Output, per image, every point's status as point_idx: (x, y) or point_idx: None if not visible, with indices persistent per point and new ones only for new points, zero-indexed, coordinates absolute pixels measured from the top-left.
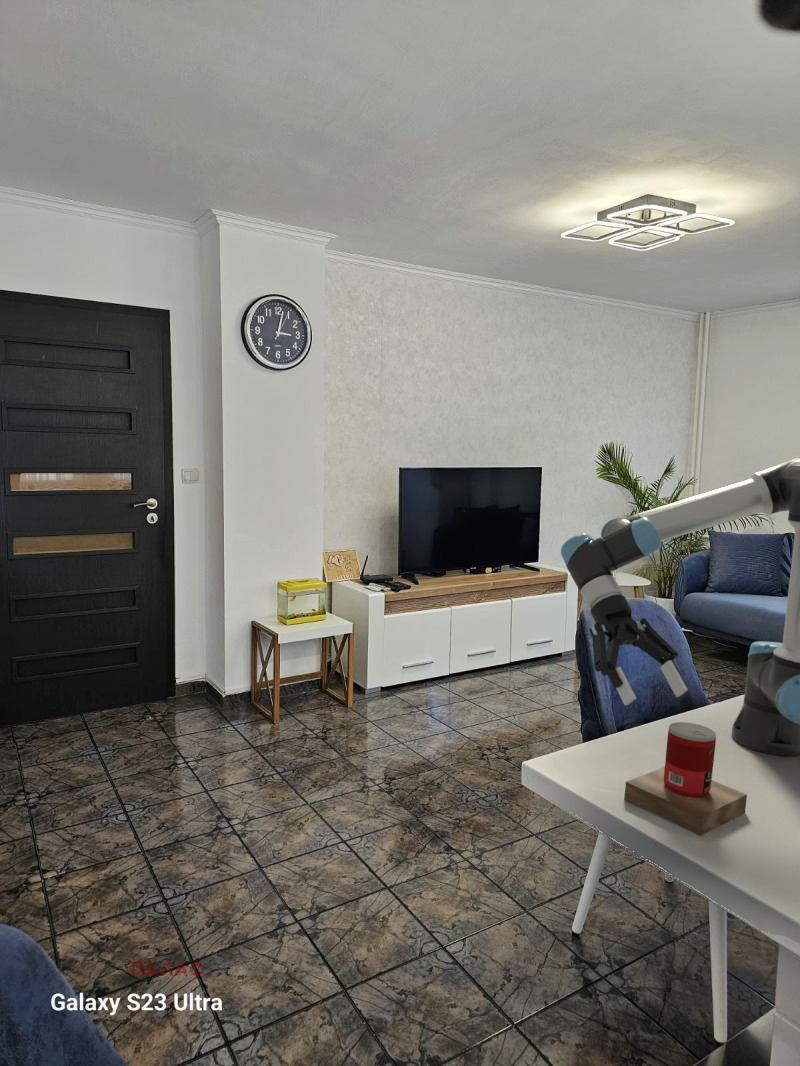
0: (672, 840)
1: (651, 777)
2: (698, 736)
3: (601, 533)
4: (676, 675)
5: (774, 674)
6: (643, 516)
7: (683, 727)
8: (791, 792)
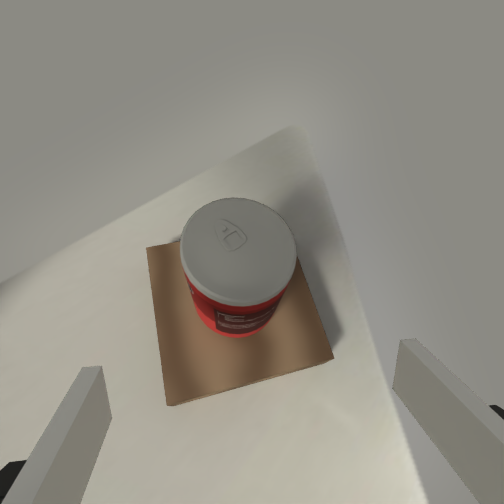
0: (325, 241)
1: (267, 359)
2: (247, 222)
3: None
4: (65, 439)
5: None
6: None
7: (236, 278)
8: None
